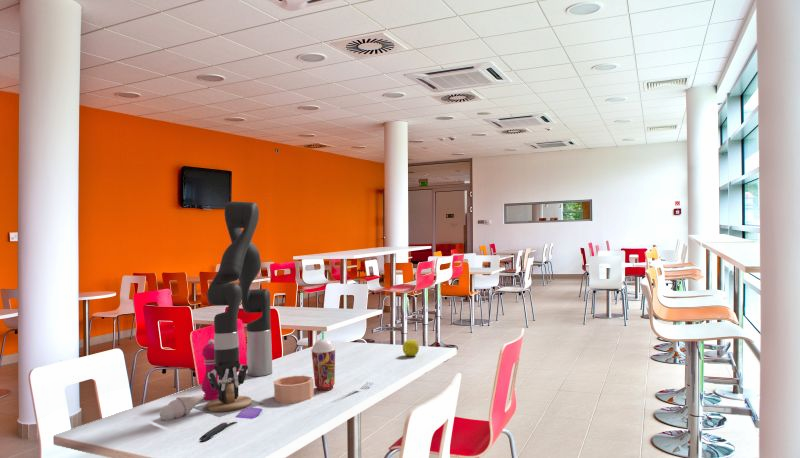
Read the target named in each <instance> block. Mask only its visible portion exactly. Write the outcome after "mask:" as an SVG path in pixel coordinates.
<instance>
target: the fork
mask: <svg viewBox="0 0 800 458" xmlns="http://www.w3.org/2000/svg"><path fill="white" fill-rule="evenodd" d="M373 384H374V382H371V381H369V382H368V381H367V382H366V383H365V384H363V385H362V386H361V387H360V388H359V390H352V391H350V392H348V393H346V394H344V395H342V396H340V397H338V398H335V399H334V400H332V401H331V403H336V402H340V401H341V400H343V399H345V398H346V397H348V396H349V395H351V394H352V393H355V392H357V393H361V391H360V390H362V391H367V390H368V389H369V388H370V387H371V386H372V385H373Z"/></svg>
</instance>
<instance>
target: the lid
mask: <svg viewBox="0 0 800 458" xmlns="http://www.w3.org/2000/svg"><path fill="white" fill-rule="evenodd" d="M224 390H225V397H226V402H224V403H222V402H220V401H219V398H218V399H214V400H208V401H207V402H206V403H205V404H206V410H207V411H210V412H231V411H236V410H241V409H244V408H246V407H248V406H250V405H251V404H252V400H253V399H252V398H251V397H249V396H245V395H244V396H243V395H238V397H237V399H235V394H234V382H231V381H227V382H226V384H225V389H224Z"/></svg>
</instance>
